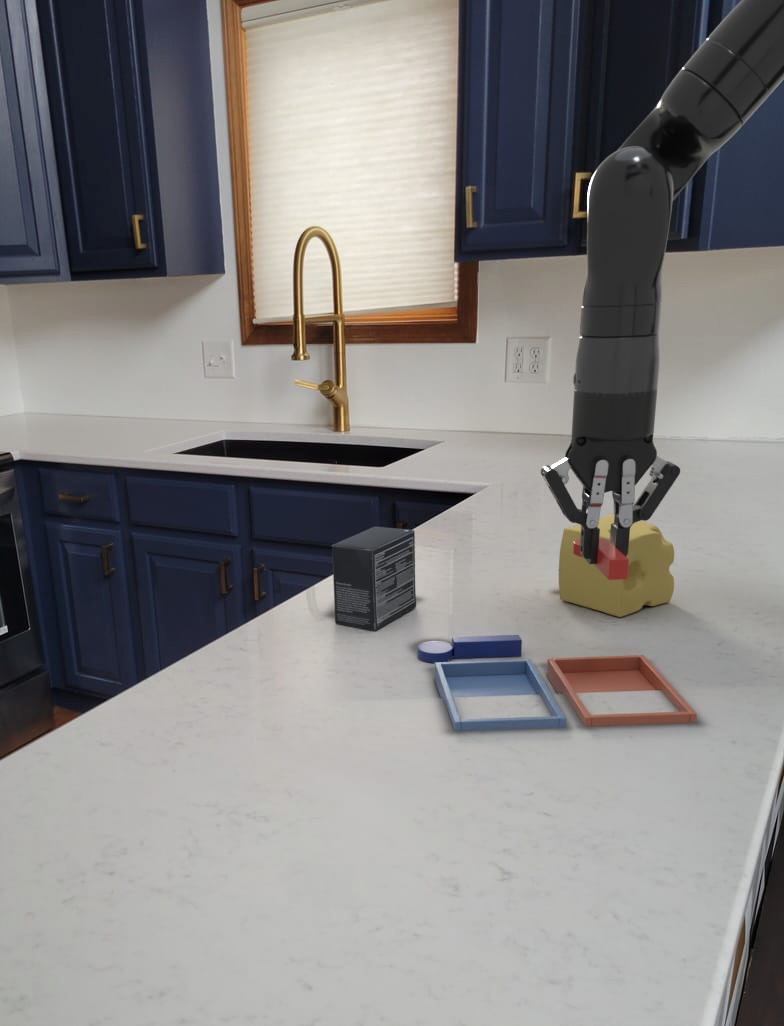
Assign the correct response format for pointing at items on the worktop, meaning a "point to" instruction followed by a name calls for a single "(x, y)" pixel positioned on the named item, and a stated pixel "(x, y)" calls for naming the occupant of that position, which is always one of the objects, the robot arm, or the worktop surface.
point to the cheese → (623, 596)
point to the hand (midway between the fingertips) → (603, 561)
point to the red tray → (615, 687)
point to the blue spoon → (471, 648)
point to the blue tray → (495, 691)
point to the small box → (374, 577)
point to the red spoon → (607, 559)
